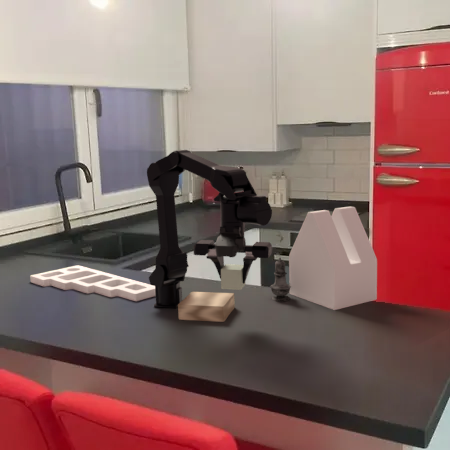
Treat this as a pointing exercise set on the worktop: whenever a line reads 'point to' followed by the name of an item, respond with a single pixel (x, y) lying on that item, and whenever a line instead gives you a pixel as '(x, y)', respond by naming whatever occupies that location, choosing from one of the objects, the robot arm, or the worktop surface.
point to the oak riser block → (206, 306)
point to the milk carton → (333, 260)
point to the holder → (94, 283)
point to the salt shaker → (280, 283)
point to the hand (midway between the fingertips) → (233, 282)
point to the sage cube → (232, 277)
